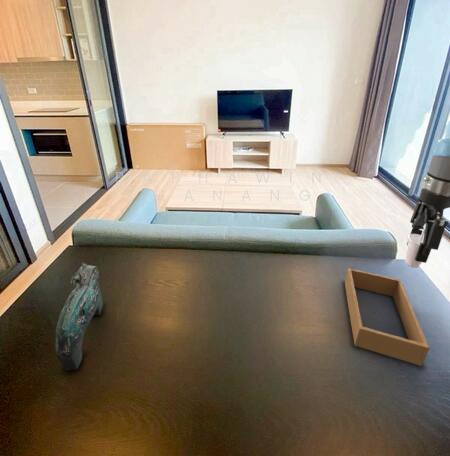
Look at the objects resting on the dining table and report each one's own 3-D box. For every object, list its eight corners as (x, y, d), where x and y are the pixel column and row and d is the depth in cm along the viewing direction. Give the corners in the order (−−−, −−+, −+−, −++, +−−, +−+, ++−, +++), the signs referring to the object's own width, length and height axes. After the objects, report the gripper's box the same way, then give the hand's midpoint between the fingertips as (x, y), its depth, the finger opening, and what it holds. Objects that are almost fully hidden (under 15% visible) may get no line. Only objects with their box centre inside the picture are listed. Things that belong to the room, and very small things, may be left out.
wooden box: (395, 295, 82) (400, 279, 80) (421, 366, 63) (429, 348, 60) (344, 283, 87) (348, 267, 84) (354, 345, 67) (359, 328, 65)
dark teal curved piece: (91, 302, 79) (78, 253, 72) (111, 300, 80) (100, 252, 73) (57, 374, 61) (35, 319, 54) (84, 372, 61) (66, 316, 54)
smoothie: (398, 263, 81) (410, 229, 76) (402, 253, 85) (413, 219, 80) (422, 274, 77) (437, 238, 72) (425, 263, 81) (438, 228, 76)
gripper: (411, 175, 81) (393, 232, 89) (438, 205, 64) (413, 273, 72) (438, 178, 79) (417, 236, 87) (474, 210, 61) (444, 279, 70)
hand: (416, 253), depth 79 cm, fingers closed on smoothie, 6 cm apart
